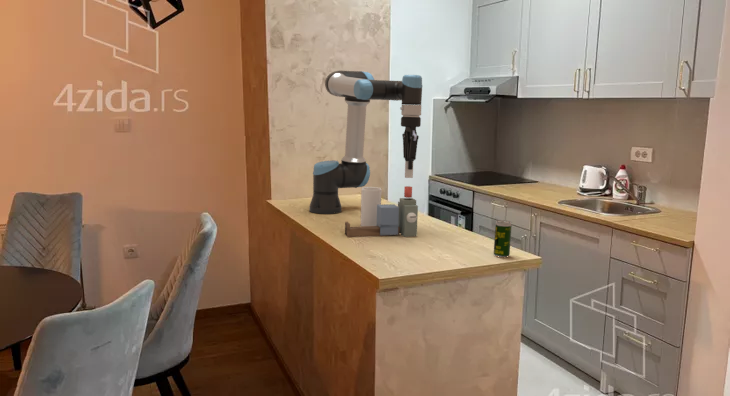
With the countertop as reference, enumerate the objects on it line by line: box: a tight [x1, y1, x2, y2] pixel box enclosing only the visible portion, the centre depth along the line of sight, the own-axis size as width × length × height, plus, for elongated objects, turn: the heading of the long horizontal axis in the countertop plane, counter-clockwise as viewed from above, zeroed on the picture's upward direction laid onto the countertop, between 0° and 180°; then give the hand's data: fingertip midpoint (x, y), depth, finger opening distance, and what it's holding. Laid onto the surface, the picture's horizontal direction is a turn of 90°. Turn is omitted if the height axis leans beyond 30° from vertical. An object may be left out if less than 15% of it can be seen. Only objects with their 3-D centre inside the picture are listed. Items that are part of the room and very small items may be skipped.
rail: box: [344, 221, 401, 238], centre depth 217 cm, size 5×21×5 cm, turn 103°
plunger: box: [403, 185, 413, 198], centre depth 218 cm, size 3×3×4 cm
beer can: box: [493, 219, 512, 258], centre depth 190 cm, size 5×5×12 cm
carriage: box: [377, 203, 399, 236], centre depth 218 cm, size 6×7×11 cm
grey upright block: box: [397, 197, 419, 238], centre depth 219 cm, size 11×5×14 cm, turn 13°
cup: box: [360, 186, 382, 226], centre depth 231 cm, size 8×8×16 cm
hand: (408, 177), depth 217 cm, fingers closed
